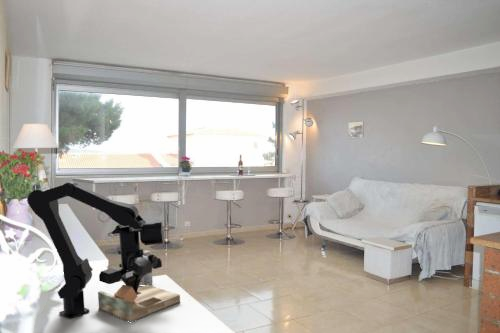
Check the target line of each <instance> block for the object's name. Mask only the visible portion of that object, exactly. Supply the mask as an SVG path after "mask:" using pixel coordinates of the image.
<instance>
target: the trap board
mask: <svg viewBox="0 0 500 333" xmlns="http://www.w3.org/2000/svg"><path fill="white" fill-rule="evenodd" d="M97 298H98V310H100V311H102V312H104V313H107V314H108V315H111V316H113V315H114V317H116V318H118V317H119V318H118V319H120V318H122V319H124V320H126V321H125V322H127V321H129V322H132V321H134V322H136V321H139V320H141V319H144V318H146V317H149V316H151V315H153V314H155V313H157V312H161V311H163V310H165V309H167V308H170V307H172V306H175V305H177V304H180V303H181V295H180V294H178V293H175V292H172V291H170V290H165V289H163V288H160V287H157V286H154V285H152V284H151V285H145V286H139V287H138V290H137V298H136V299H135V300H134V301H133V302H132V303H131V302H128V301H126V300H123V299H121V298H118V297H115V296H114V294H113V295H112V294H110V293H108V292H105V291H102V290H100V291H97ZM143 317H144V318H143ZM122 319H121V320H122ZM124 320H123V321H124ZM135 320H136V321H135ZM129 322H128V323H129ZM132 323H133V322H132Z"/></svg>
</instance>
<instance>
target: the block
mask: <svg viewBox="0 0 500 333" xmlns="http://www.w3.org/2000/svg"><path fill="white" fill-rule="evenodd" d="M113 296H115V297H118V298H121V299H123V300H126V301H128V302H131V303H132V302H133V301H134V300H135V299H136V298H137V294H136V293H135V291H134V289H133V288H132V287H130V286H126V285H125V284H122V285H121V286H120V288H119V289H118V290H117V291H116V292H115V293H114V294H113Z"/></svg>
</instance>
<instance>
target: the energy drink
mask: <svg viewBox="0 0 500 333" xmlns="http://www.w3.org/2000/svg"><path fill="white" fill-rule="evenodd" d="M143 254H144V256H149V255H152V252H151V250H150V249H143ZM150 284H151V285H152V284H153V271H152V272H151V273H147V274H146V275H144V276H143V277H142V278H141V280H140V283H139V285H150Z"/></svg>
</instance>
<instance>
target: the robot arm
mask: <svg viewBox="0 0 500 333" xmlns="http://www.w3.org/2000/svg"><path fill="white" fill-rule="evenodd" d="M66 197H70V198H72V199H74V200H75V201H79V202H81V203H83V204H85V205H87V206H89V207H90V208H94V209H96V210H98V211H100V212H102V213H104V214H106V215H107V216H108V217H109V218H110V219H112V221H114V222H116V223H117V225H116V226H115V228H114V229H113V231H111V234H112V235H117V234H118V235H119V250H118V251H117V253H118V255H120V260H121V261H120V263H118V266H119V268H120V269H115V268H113V267H112V268H108V269H105V270H101V271H100V273H99V275H98V280H99V282H102V283H104V284H107V285H111V284H115V283H118V282H120V281H121V280H122V282H123V283H124V285H126V286H130V287H132V288H133V289H134V291H135V293H136V294H137V290H138V288H139V287H140V286H139V283H140V280H141V278H142V277H143V276H144V275H146V274H147V273H151V272H152V273H153V269H154V270H156V269H159V268H162V267H163V262H162V259H161V258H160V257H158V256H157V254H155V253H151V255H149V256H144V254H143V250H144V249H143V248H141V246H140V243H142V244H143V245H144V246H154V245H164V244H165V230H164V227H163V221H155V222H148V223H147V222H146V220H145V219H144V218H143V217H142V216H141V215H140V214H139V212H140V211H139V209H138V208H137V207H136V206H135V205H133V204H130V203H127V202H121V201H117V200H116V201H115V200H113V199H110V198H108V197H105V196H104V195H102V194H100V193H97V192H95V191H92V190H91V189H88V188H86V187H84V186H83V185H79V184H78V183H77V182H75V181H69V182H65V183H64V184H62V185H59V186H58V185H57V186H55V187H53V188H49V187H43V188H39V189H35V190H33V191H30V193H28V197H27V200H26V201H27V204H28V206H29V207H30V209H31V210H32V212H33V213H34V214H35V215H36V216H37V217H38V218H40V220H42V222H43V224H44V226H45V228H46V230H47V232H48V235H49V236H50V238H51V241H52V244H53V245H54V247H55V249H57V250H56V252H57V254H58V256H59V258H60V261H61V263H62V272H64V275H63V279H64V282H65V283H64V284H63V286H62V287H61V288H60V289H59V290H58V291H57V295H58V296H59V299H62V302H63V305H62V306H63V310H60V311H59V315H60V316H63V317H64V318H66V319H69V320H70V319H72V318H75V317H78V316H80V315H81V316H82V315H83V314H86V313H89V312H90V309H89V308H87V307H85V296H84V289H85V288H86V287H87V284H88V283H89V282H90V281H91V280H92V278H93V272H92V271H93V267H92V266H91V265H90V263H89V262H90V261H89V259H88V258H84V259H82V258H81V257H80V256H79V255H78V253H77V251H76V248H75V246H74V244H73V242H72V240H71V237H70V235H69V233H68V231H67V229H66V226H65V225H64V222H63V220H62V218H61V216H60V211H59V210H60V209H59V206H60V205H59V201H58V200H60V199H63V198H66Z"/></svg>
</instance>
